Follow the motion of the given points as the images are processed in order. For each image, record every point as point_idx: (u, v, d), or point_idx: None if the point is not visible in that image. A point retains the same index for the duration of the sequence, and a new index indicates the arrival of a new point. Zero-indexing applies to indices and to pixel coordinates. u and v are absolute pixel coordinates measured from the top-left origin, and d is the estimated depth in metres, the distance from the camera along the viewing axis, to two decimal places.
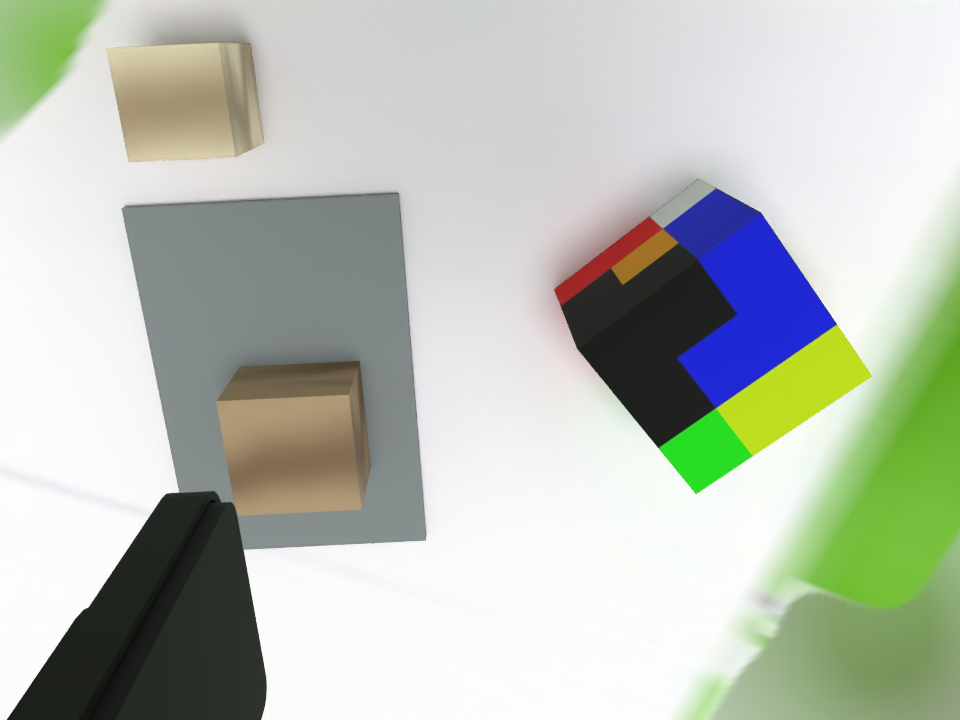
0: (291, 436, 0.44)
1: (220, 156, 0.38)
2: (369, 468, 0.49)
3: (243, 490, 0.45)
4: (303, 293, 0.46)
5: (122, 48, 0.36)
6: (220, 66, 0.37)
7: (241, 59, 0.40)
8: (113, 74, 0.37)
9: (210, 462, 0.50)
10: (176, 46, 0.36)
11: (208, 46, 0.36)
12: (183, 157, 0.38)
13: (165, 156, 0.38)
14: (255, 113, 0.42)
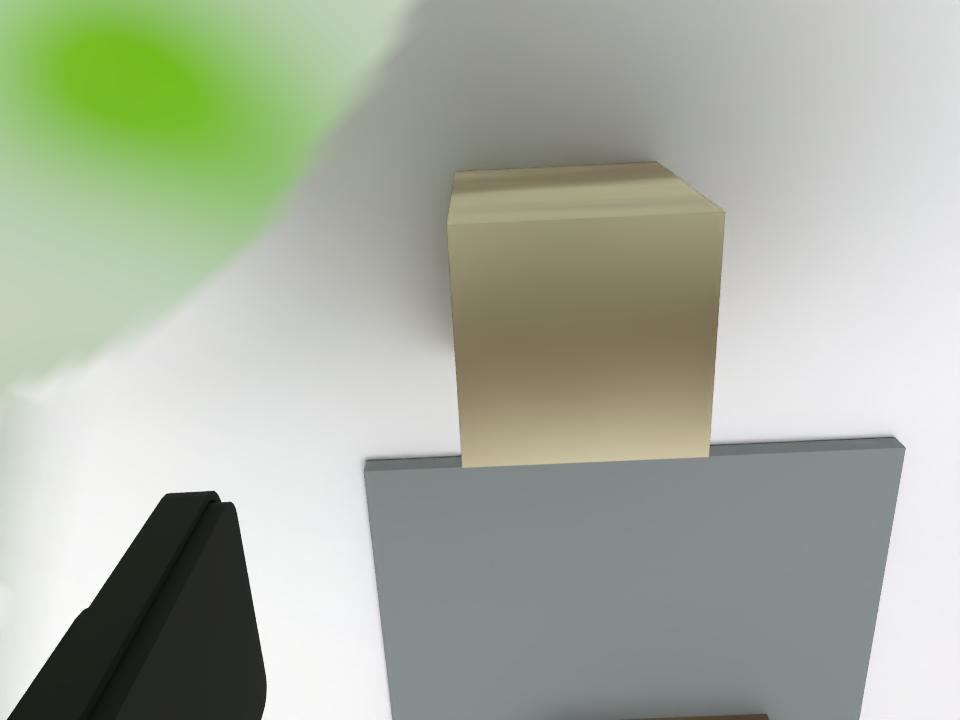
0: None
1: (675, 456, 0.16)
2: None
3: None
4: (686, 610, 0.24)
5: (485, 225, 0.15)
6: (718, 265, 0.15)
7: None
8: (454, 284, 0.15)
9: None
10: (619, 220, 0.15)
11: (699, 221, 0.15)
12: (589, 458, 0.16)
13: (548, 456, 0.16)
14: None
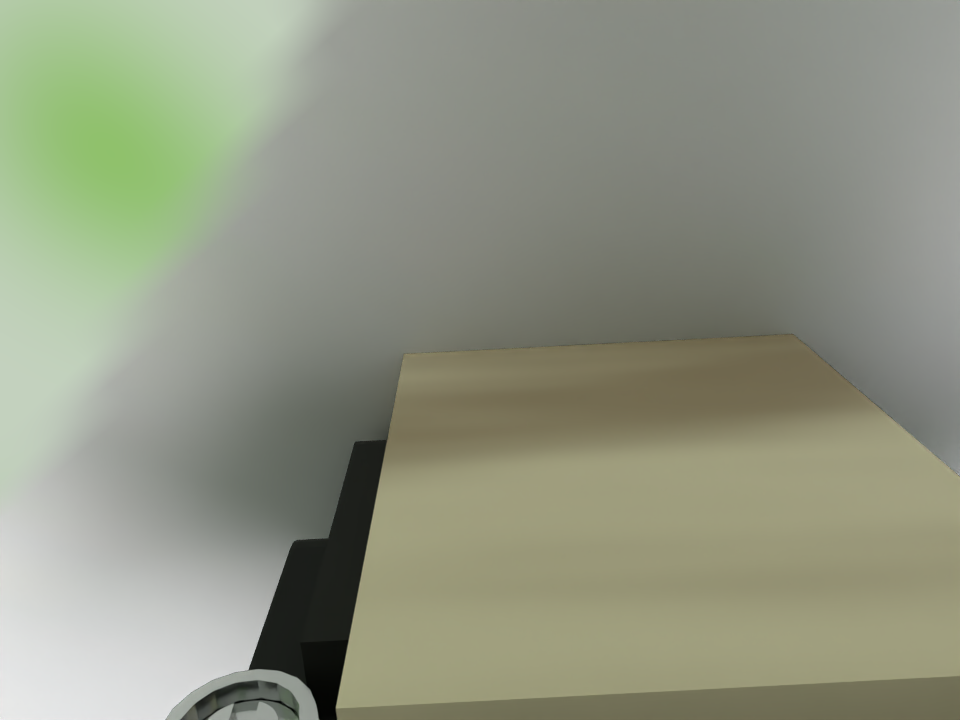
0: None
1: None
2: None
3: None
4: None
5: (454, 705, 0.05)
6: None
7: None
8: None
9: None
10: (859, 690, 0.05)
11: None
12: None
13: None
14: None
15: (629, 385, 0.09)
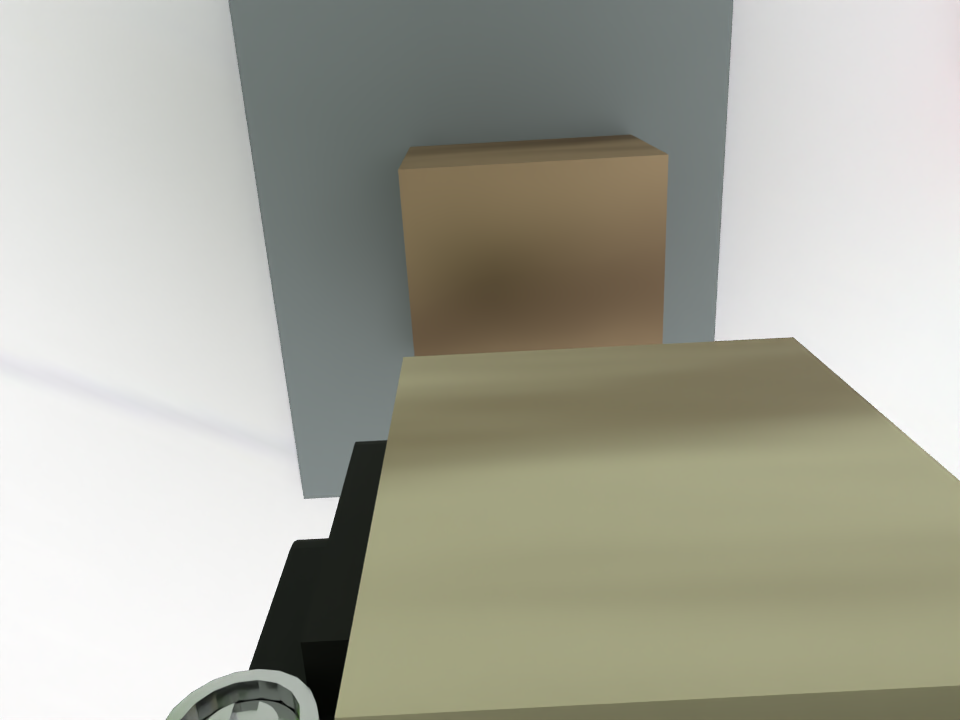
0: (541, 247, 0.22)
1: None
2: None
3: None
4: None
5: (454, 715, 0.05)
6: None
7: None
8: None
9: (345, 335, 0.28)
10: (861, 699, 0.05)
11: None
12: None
13: None
14: None
15: (629, 389, 0.09)
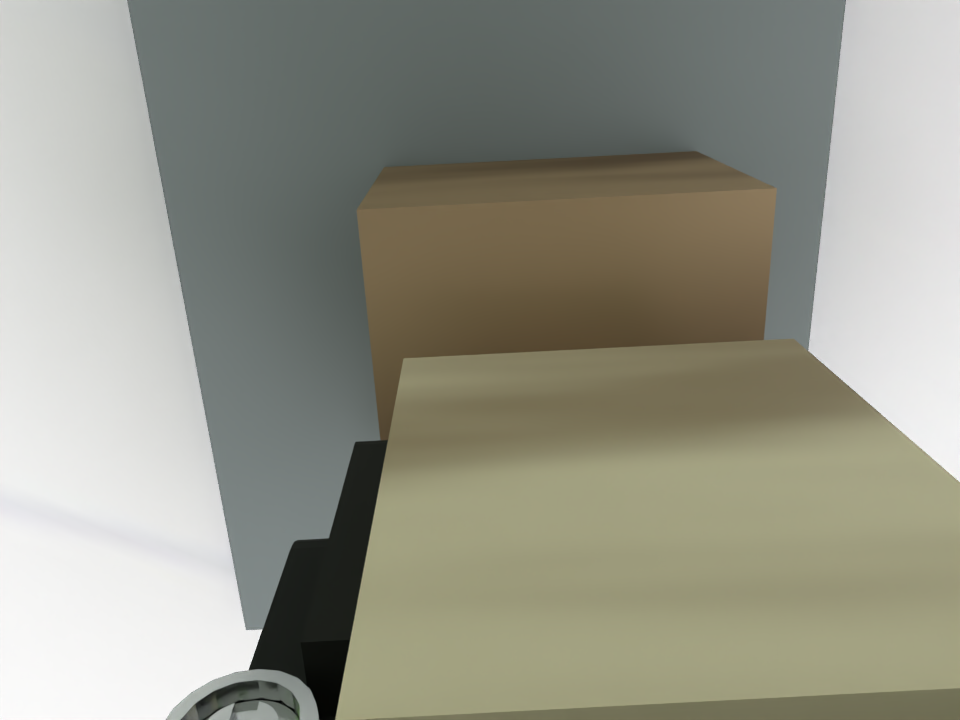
0: (577, 327, 0.14)
1: None
2: None
3: None
4: None
5: (454, 717, 0.05)
6: None
7: None
8: None
9: (297, 421, 0.20)
10: (862, 702, 0.05)
11: None
12: None
13: None
14: None
15: (630, 390, 0.09)
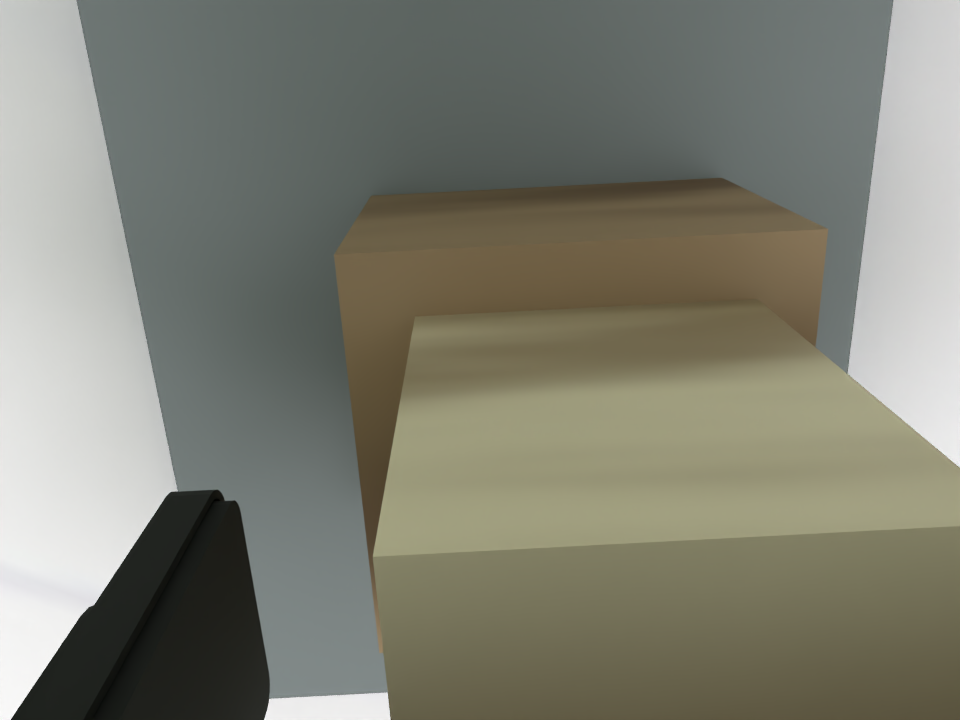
0: None
1: None
2: None
3: None
4: None
5: (464, 555, 0.06)
6: None
7: None
8: (396, 671, 0.07)
9: (275, 476, 0.18)
10: (778, 543, 0.06)
11: None
12: None
13: None
14: None
15: (612, 339, 0.10)
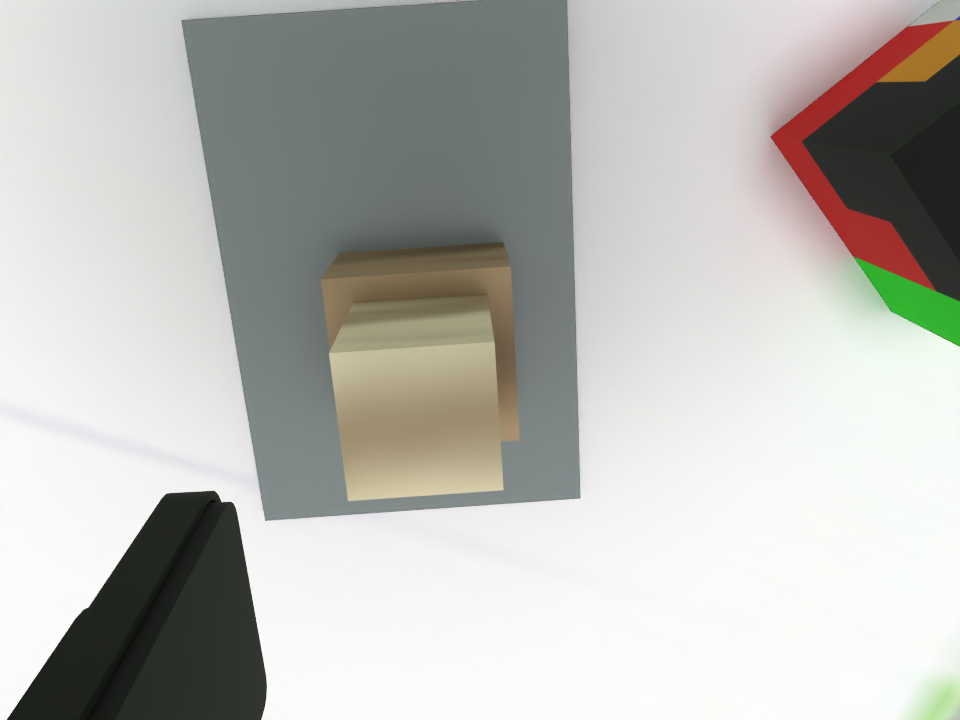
0: None
1: (482, 490, 0.26)
2: None
3: None
4: (429, 144, 0.33)
5: (352, 353, 0.24)
6: (494, 372, 0.25)
7: None
8: (336, 387, 0.25)
9: (294, 392, 0.36)
10: (432, 348, 0.24)
11: (480, 347, 0.24)
12: (428, 493, 0.26)
13: (402, 492, 0.26)
14: None
15: (422, 308, 0.29)
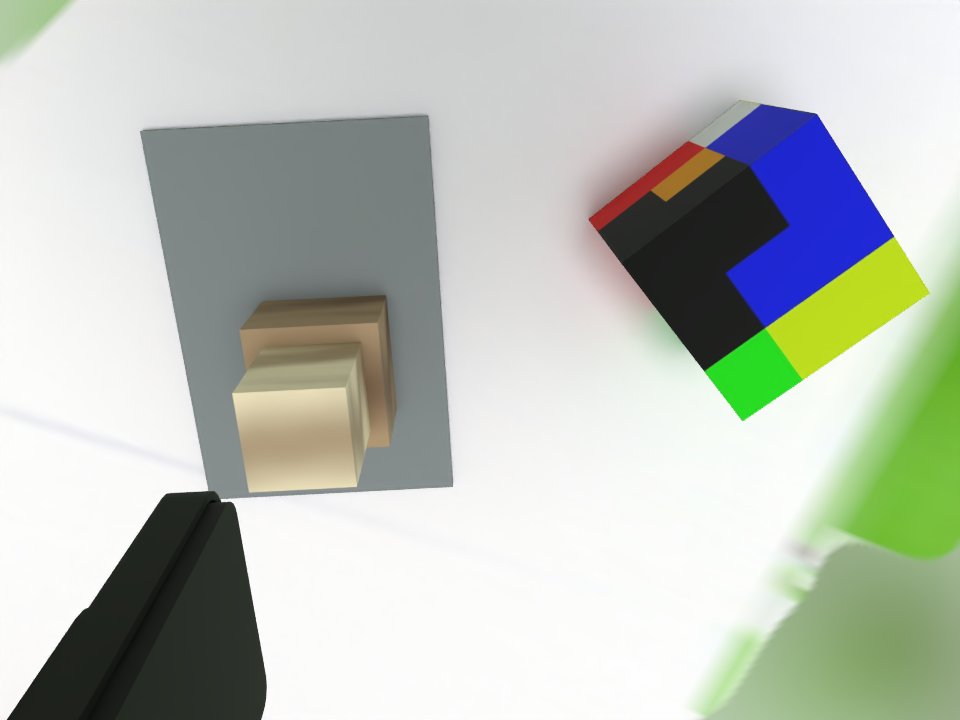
0: None
1: (342, 486, 0.37)
2: (395, 409, 0.47)
3: None
4: (328, 222, 0.44)
5: (248, 393, 0.36)
6: (346, 407, 0.36)
7: (357, 372, 0.39)
8: (238, 416, 0.36)
9: (230, 403, 0.48)
10: (303, 391, 0.36)
11: (335, 391, 0.36)
12: (304, 488, 0.37)
13: (286, 487, 0.37)
14: (365, 411, 0.42)
15: (310, 353, 0.40)
